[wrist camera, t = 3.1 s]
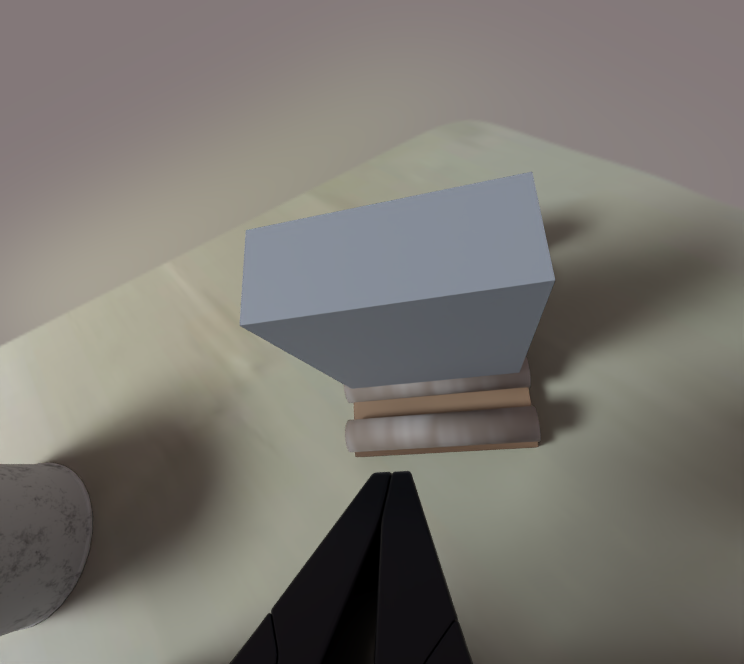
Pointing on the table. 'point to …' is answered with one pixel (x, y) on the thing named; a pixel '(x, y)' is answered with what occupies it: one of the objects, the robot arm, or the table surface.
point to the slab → (405, 285)
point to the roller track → (443, 408)
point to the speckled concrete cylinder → (40, 540)
